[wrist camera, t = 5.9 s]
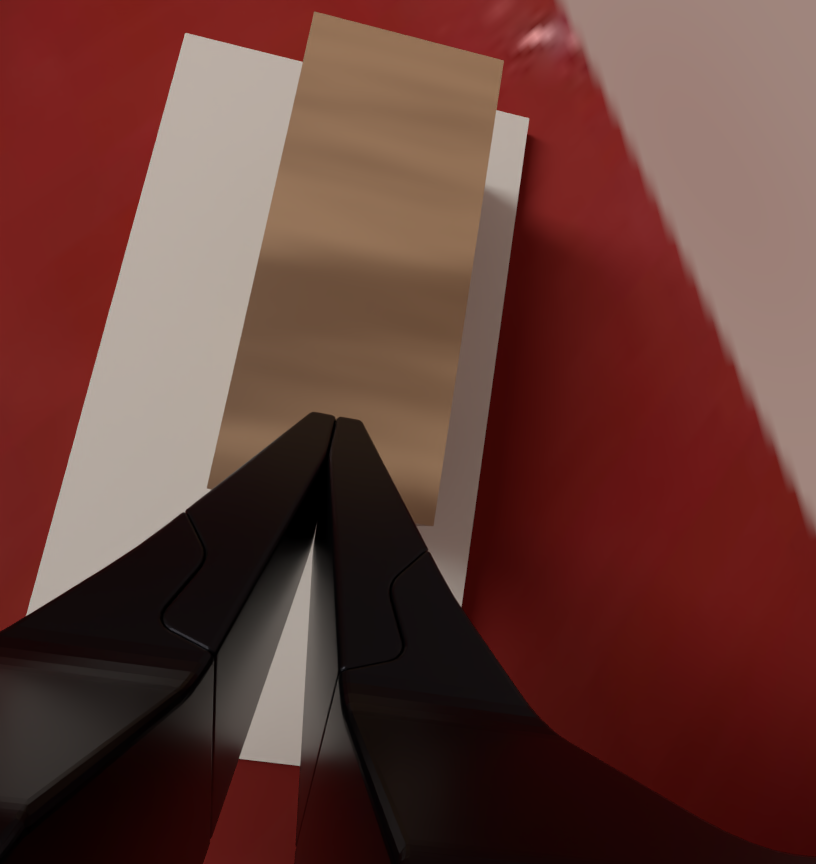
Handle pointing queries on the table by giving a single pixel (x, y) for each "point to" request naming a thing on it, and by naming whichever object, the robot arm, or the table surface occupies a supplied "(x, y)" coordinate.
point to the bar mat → (218, 344)
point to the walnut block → (367, 252)
